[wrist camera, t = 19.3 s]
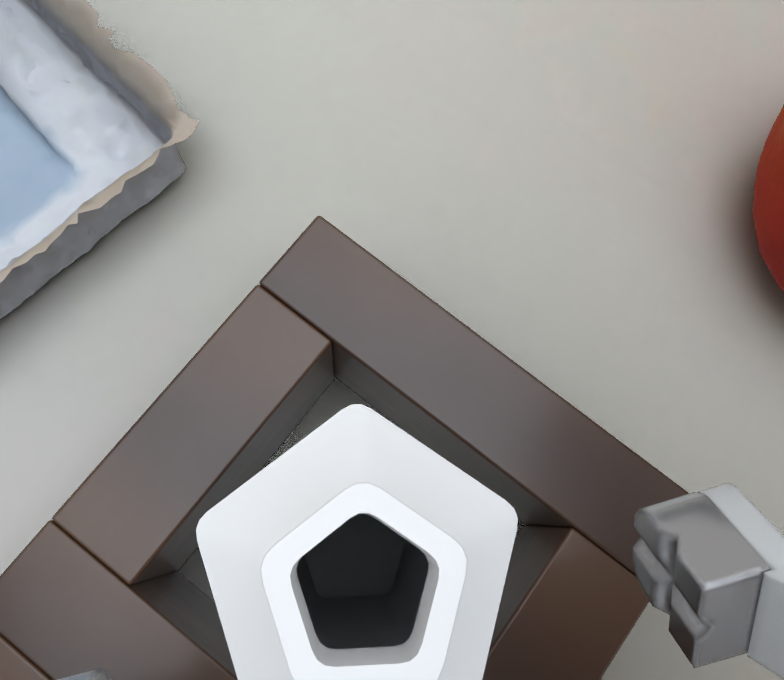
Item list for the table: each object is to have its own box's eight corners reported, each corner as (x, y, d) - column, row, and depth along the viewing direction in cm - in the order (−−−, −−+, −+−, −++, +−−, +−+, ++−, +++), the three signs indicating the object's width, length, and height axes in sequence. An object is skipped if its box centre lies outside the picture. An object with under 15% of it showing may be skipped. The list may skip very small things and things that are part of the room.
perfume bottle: (340, 659, 21) (325, 972, 7) (252, 538, 22) (65, 577, 7) (459, 559, 22) (679, 638, 7) (372, 445, 23) (418, 314, 8)
